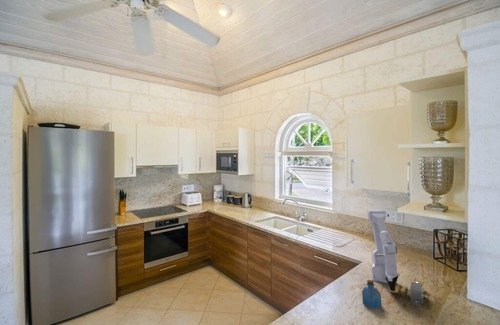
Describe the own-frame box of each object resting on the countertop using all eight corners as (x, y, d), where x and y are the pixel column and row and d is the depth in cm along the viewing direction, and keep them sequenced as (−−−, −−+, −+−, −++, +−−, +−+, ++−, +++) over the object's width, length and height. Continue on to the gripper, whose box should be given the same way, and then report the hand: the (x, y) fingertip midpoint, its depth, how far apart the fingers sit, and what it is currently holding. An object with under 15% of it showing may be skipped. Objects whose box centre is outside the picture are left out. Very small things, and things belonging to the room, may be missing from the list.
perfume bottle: (362, 303, 125) (361, 280, 126) (371, 300, 127) (369, 277, 128) (372, 309, 119) (370, 285, 120) (381, 306, 121) (379, 282, 122)
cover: (414, 291, 134) (413, 283, 135) (413, 287, 139) (412, 280, 139) (426, 292, 132) (424, 284, 132) (424, 289, 136) (423, 281, 137)
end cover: (388, 293, 133) (388, 283, 133) (390, 289, 137) (389, 280, 137) (407, 297, 127) (406, 287, 128) (408, 293, 132) (407, 283, 132)
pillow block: (410, 304, 122) (409, 291, 122) (412, 291, 135) (411, 279, 135) (422, 307, 119) (421, 293, 119) (423, 293, 132) (422, 281, 132)
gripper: (397, 270, 126) (399, 296, 126) (400, 262, 138) (402, 286, 137) (382, 268, 131) (384, 293, 130) (386, 260, 142) (388, 283, 141)
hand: (392, 289), depth 134 cm, fingers closed on end cover, 3 cm apart
